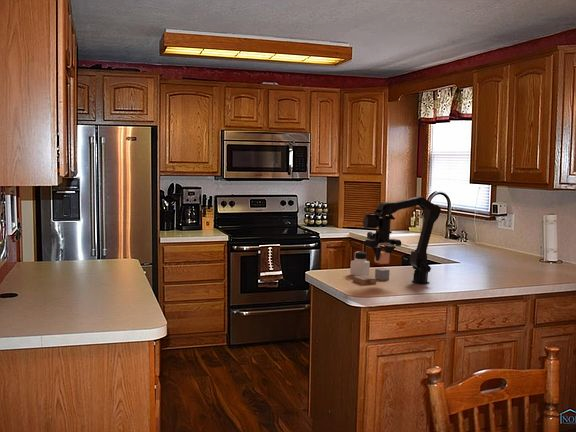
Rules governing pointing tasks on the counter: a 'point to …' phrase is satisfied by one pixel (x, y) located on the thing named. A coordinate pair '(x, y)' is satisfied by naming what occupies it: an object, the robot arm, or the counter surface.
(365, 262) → the medicine bottle
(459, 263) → the counter surface
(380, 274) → the grey cube
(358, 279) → the walnut slab
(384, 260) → the terracotta cube
